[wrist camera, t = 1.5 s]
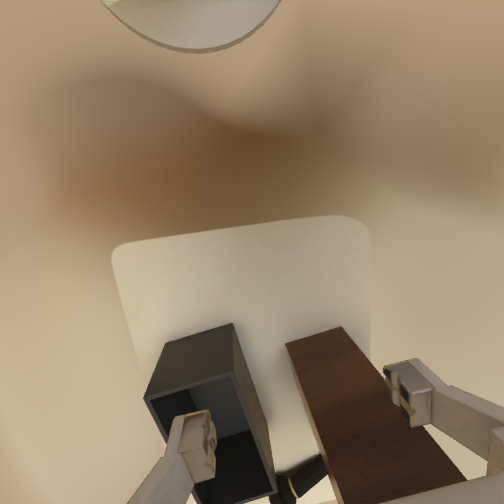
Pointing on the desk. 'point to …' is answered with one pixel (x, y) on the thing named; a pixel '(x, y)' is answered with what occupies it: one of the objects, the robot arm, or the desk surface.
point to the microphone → (298, 483)
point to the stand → (363, 425)
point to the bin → (216, 412)
